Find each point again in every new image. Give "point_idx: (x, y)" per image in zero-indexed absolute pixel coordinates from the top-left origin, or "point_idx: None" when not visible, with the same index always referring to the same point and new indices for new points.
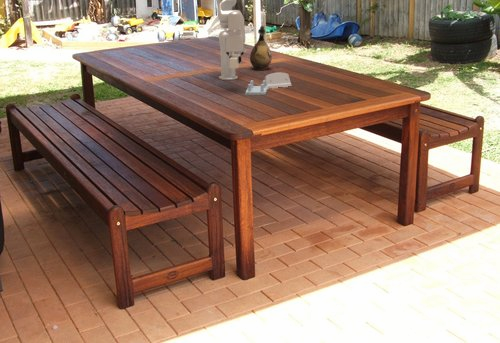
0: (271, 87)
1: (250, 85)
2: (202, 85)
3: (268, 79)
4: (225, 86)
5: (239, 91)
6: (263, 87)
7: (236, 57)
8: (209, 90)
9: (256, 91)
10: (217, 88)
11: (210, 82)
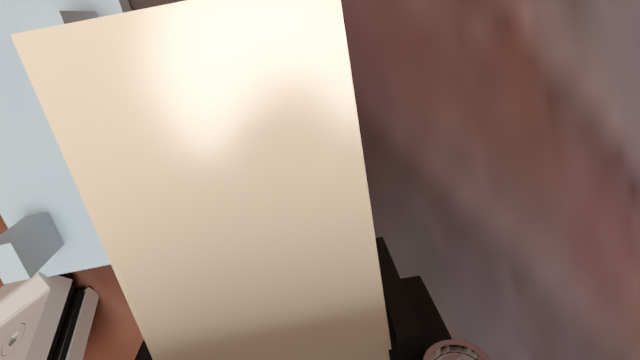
0: None
1: (31, 16)
2: (614, 234)
3: (21, 342)
4: (424, 246)
5: None
6: None
7: (189, 310)
8: (526, 70)
9: (7, 30)
10: (472, 164)
11: (566, 332)
